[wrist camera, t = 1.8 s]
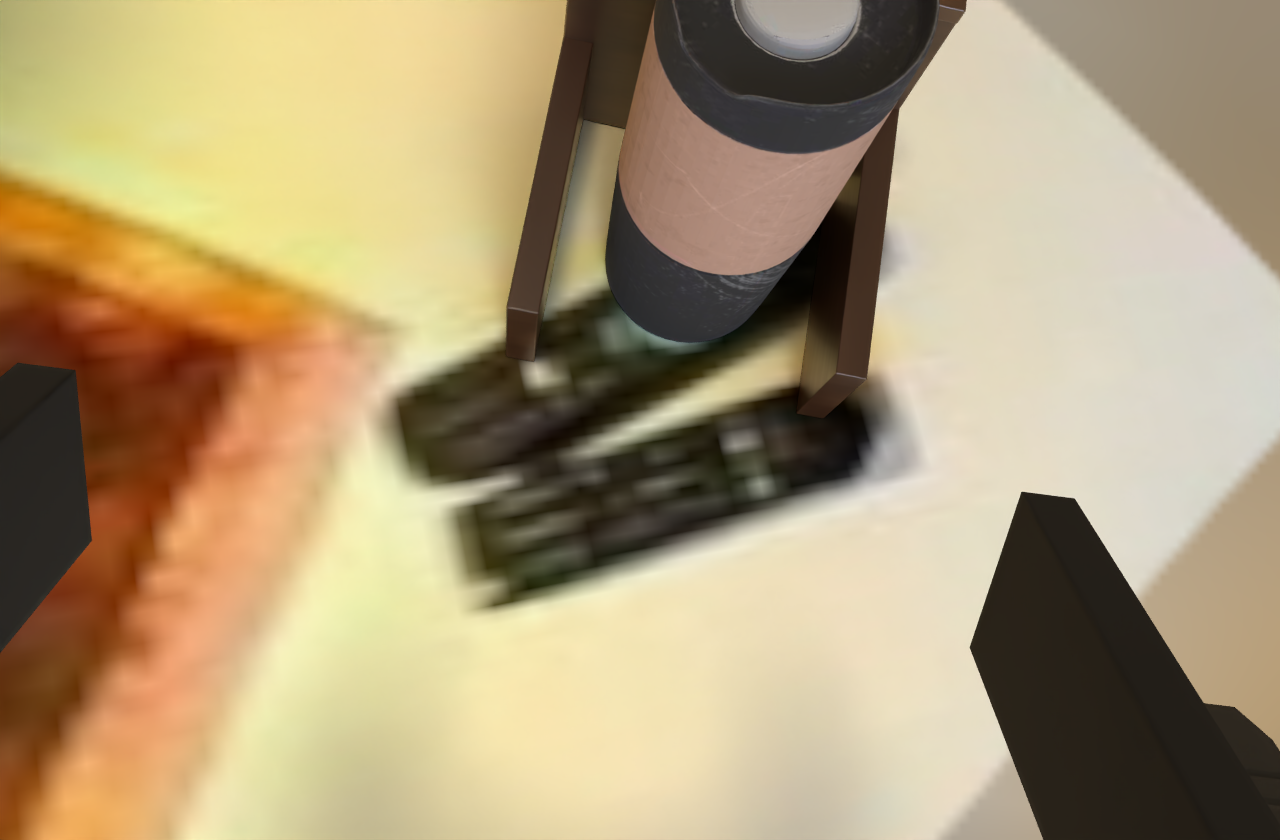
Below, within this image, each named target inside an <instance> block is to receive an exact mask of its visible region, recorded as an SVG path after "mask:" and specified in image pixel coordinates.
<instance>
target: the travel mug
mask: <svg viewBox="0 0 1280 840" xmlns="http://www.w3.org/2000/svg"><path fill="white" fill-rule="evenodd" d="M939 10H940V0H656V3H655V7H654V11H653V15H652V19H651V24H650V28H649V32H648V36H647V41H646V45H645V49H644V53H643V58H642V62H641V66H640V70H639V74H638V79H637V83H636V87H635V91H634V96H633V100H632V104H631V108H630V113H629V117H628V121H627V125H626V129H625V134H624V138H623V142H622V147H621V151H620V156H619V162H618V168H617V175H616V182H615V189H614V195H613V202H612V209H611V216H610V222H609V229H608V236H607V245H606V258H605V261H606V273H607V277H608V282H609V285H610V287H611V290H612V292H613V294H614V296H615V298H616V300H617V302H618V303H619V305H620V306H621V307H622V309H623V310H624V311H625V312H626V314H627V315H628V316H629V317H630V318H631V319H632V320H633V321H635V322H636V323H637V324H638V325H640V326H641V327H642V328H644V329H645V330H647V331H649V332H651V333H653V334H655V335H657V336H660V337H663V338H665V339H669V340H673V341H679V342H702V341H708V340H712V339H716V338H719V337H722V336H724V335H726V334H728V333H730V332H732V331H733V330H735V329H737V328H738V327H739V326H741V325H742V324H743V323H744V322H745V321H746V320H747V319H748V318H749V317H750V316H751V315H752V314H753V313H754V312H755V311H756V309H757V308H758V307H759V306H760V305H761V303H762V302H763V301H764V299H765V298H766V297H767V295H768V294H769V293H770V292H771V290H772V289H773V288H774V286H775V285H776V284H777V282H778V281H779V280H780V278H781V277H782V276H783V274H784V273H785V272H786V270H787V269H788V268H789V266H790V265H791V264H792V262H793V261H794V260H795V259H796V257H797V256H798V255H799V253H800V252H801V251H802V249H803V248H804V247H805V245H806V244H807V243H808V241H809V240H810V238H811V237H812V236H813V234H814V233H815V231H816V230H817V228H818V227H819V225H820V223H821V222H822V220H823V219H824V217H825V216H826V214H827V212H828V211H829V209H830V208H831V206H832V204H833V203H834V201H835V200H836V198H837V197H838V195H839V193H840V192H841V190H842V189H843V187H844V185H845V184H846V182H847V181H848V179H849V178H850V176H851V174H852V173H853V171H854V170H855V168H856V166H857V165H858V163H859V162H860V160H861V159H862V157H863V155H864V154H865V152H866V151H867V149H868V147H869V146H870V144H871V143H872V141H873V140H874V138H875V136H876V135H877V133H878V132H879V130H880V128H881V127H882V125H883V124H884V122H885V121H886V119H887V117H888V116H889V114H890V113H891V111H892V109H893V108H894V106H895V105H896V103H897V102H898V100H899V98H900V97H901V95H902V94H903V92H904V91H905V89H906V87H907V86H908V84H909V83H910V81H911V79H912V78H913V76H914V75H915V73H916V72H917V70H918V68H919V67H920V65H921V64H922V62H923V60H924V58H925V56H926V54H927V52H928V50H929V48H930V46H931V44H932V41H933V38H934V34H935V31H936V28H937V24H938V17H939Z"/></svg>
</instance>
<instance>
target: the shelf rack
mask: <svg viewBox="0 0 1280 840" xmlns="http://www.w3.org/2000/svg"><path fill="white" fill-rule="evenodd" d="M966 2H967V0H940V10H939V17H938V24H937V28H936V31H935V34H934V38H933V41H932V44H931V46H930V48H929V50H928V52H927V54H926V56H925V58H924V60H923V62H922V64H921V65H920V67H919V68H918V70H917V72H916V73H915V75H914V76H913V78H912V79H911V81H910V83H909V84H908V86H907V87H906V89H905V91H904V92H903V94H902V95H901V97H900V98H899V100H898V102H897V103H896V105H895V106H894V108H893V109H892V111H891V113H890V114H889V116H888V117H887V119H886V121H885V122H884V124H883V125H882V127H881V128H880V130H879V132H878V133H877V135H876V136H875V138H874V140H873V141H872V143H871V144H870V146H869V147H868V149H867V151H866V152H865V154H864V155H863V157H862V159H861V160H860V162H859V163H858V165H857V166H856V168H855V170H854V171H853V173H852V174H851V176H850V178H849V179H848V181H847V182H846V184H845V185H844V187H843V189H842V190H841V192H840V193H839V195H838V197H837V198H836V200H835V201H834V203H833V204H832V206H831V208H830V209H829V211H828V212H827V214H826V216H825V217H824V219H823V220H822V226H821V233H820V241H819V248H818V255H817V263H816V270H815V278H814V285H813V292H812V300H811V307H810V314H809V322H808V329H807V336H806V344H805V351H804V358H803V366H802V373H801V381H800V388H799V395H798V403H797V410H796V413H797V414H802V415H808V416H813V417H818V418H824V417H825V416H826V415H827V414H829V413H830V412H831V411H832V410H833V409H834V408H835V407H836V406H837V405H839V404H840V403H841V402H842V401H843V400H844V399H845V398H846V397H847V396H849V395H850V394H851V393H852V392H853V391H854V390H855V389H856V388H857V387H858V386H860V385H861V384H862V383H863V382H864V381H865V380H866V379H867V373H868V365H869V357H870V348H871V340H872V332H873V323H874V315H875V307H876V298H877V290H878V282H879V273H880V265H881V257H882V248H883V240H884V232H885V223H886V215H887V207H888V198H889V190H890V182H891V173H892V165H893V156H894V148H895V140H896V131H897V123H898V115H899V109H900V107H901V106H902V104H903V103H904V101H905V100H906V98H907V97H908V95H909V94H910V92H911V91H912V89H913V88H914V86H915V84H916V83H917V81H918V80H919V78H920V77H921V75H922V74H923V72H924V71H925V69H926V68H927V66H928V65H929V63H930V62H931V60H932V59H933V57H934V56H935V54H936V53H937V51H938V50H939V48H940V47H941V45H942V44H943V42H944V41H945V39H946V38H947V36H948V35H949V33H950V32H951V30H952V29H953V27H954V26H955V24H956V23H958V21H959V20H960V18H961V17H962V15H963V14H964V12H965V11H966ZM655 3H656V0H567V5H566V16H565V26H564V37H563V41H562V46H561V51H560V56H559V60H558V65H557V70H556V75H555V79H554V84H553V89H552V94H551V98H550V103H549V108H548V113H547V117H546V122H545V127H544V131H543V136H542V141H541V146H540V150H539V155H538V160H537V165H536V169H535V174H534V179H533V184H532V188H531V193H530V198H529V203H528V207H527V212H526V217H525V221H524V226H523V231H522V236H521V240H520V245H519V250H518V255H517V259H516V264H515V269H514V274H513V278H512V283H511V288H510V293H509V297H508V302H507V309H506V356H507V357H512V358H517V359H522V360H527V361H532V362H533V361H534V360H535V355H536V350H537V345H538V340H539V335H540V330H541V325H542V320H543V315H544V310H545V305H546V300H547V295H548V290H549V285H550V280H551V276H552V271H553V266H554V261H555V256H556V251H557V246H558V241H559V236H560V231H561V226H562V221H563V216H564V211H565V206H566V201H567V196H568V191H569V186H570V181H571V176H572V171H573V166H574V161H575V156H576V151H577V146H578V142H579V137H580V132H581V127H582V122H583V119H584V120H589V121H593V122H598V123H603V124H608V125H612V126H617V127H622V128H626V125H627V121H628V117H629V113H630V108H631V104H632V100H633V96H634V91H635V87H636V83H637V79H638V74H639V70H640V66H641V62H642V58H643V53H644V49H645V45H646V41H647V36H648V32H649V28H650V24H651V19H652V15H653V11H654V7H655Z"/></svg>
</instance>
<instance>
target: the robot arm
mask: <svg viewBox="0 0 1280 840" xmlns="http://www.w3.org/2000/svg"><path fill="white" fill-rule="evenodd" d="M91 541H92V538H91V527H90V517H89V506H88V496H87V486H86V475H85V465H84V454H83V444H82V434H81V423H80V413H79V402H78V392H77V382H76V371H75V370H69V369H62V368H54V367H46V366H38V365H30V364H23V363H17V364H16V365H15V366H13V367H12V368H11V369H10V370H8V371H7V372H6V373H5V374H4V375H2V376H1V377H0V652H1V651H2V650H3V649H4V648H5V646H6V645H7V644H8V643H9V641H10V640H11V639H12V638H13V637H14V635H15V634H16V633H17V632H18V630H19V629H20V628H21V627H22V625H23V624H24V623H25V622H26V621H27V619H28V618H29V617H30V616H31V614H32V613H33V612H34V611H35V610H36V608H37V607H38V606H39V605H40V603H41V602H42V601H43V600H44V599H45V597H46V596H47V595H48V594H49V592H50V591H51V590H52V589H53V588H54V586H55V585H56V584H57V583H58V581H59V580H60V579H61V578H62V576H63V575H64V574H65V573H66V572H67V570H68V569H69V568H70V567H71V565H72V564H73V563H74V562H75V561H76V559H77V558H78V557H79V556H80V554H81V553H82V552H83V551H84V550H85V548H86V547H87V546H88V545H89V543H90V542H91ZM970 649H971V652H972V655H973V657H974V660H975V663H976V665H977V668H978V670H979V673H980V676H981V678H982V681H983V683H984V686H985V689H986V691H987V694H988V696H989V699H990V702H991V704H992V707H993V710H994V712H995V715H996V717H997V720H998V723H999V725H1000V728H1001V730H1002V733H1003V736H1004V738H1005V741H1006V743H1007V746H1008V749H1009V751H1010V754H1011V756H1012V759H1013V762H1014V764H1015V767H1016V770H1017V772H1018V775H1019V777H1020V780H1021V783H1022V785H1023V788H1024V790H1025V793H1026V796H1027V798H1028V801H1029V803H1030V806H1031V809H1032V811H1033V814H1034V817H1035V819H1036V821H1037V824H1038V827H1039V829H1040V832H1041V835H1042V837H1043V840H1280V751H1279V749H1278V748H1277V746H1276V745H1275V743H1274V742H1273V740H1272V739H1271V738H1270V737H1268V736H1267V735H1266V734H1265V733H1264V732H1263V731H1262V730H1260V729H1259V728H1258V727H1257V726H1256V725H1255V724H1253V723H1252V722H1251V721H1250V720H1249V719H1248V718H1246V717H1245V716H1244V715H1243V714H1242V713H1241V712H1240V711H1238V710H1237V709H1236V708H1235V707H1230V706H1222V705H1213V704H1205V703H1203V702H1202V700H1201V698H1200V697H1199V695H1198V694H1197V692H1196V691H1195V689H1194V687H1193V686H1192V684H1191V682H1190V681H1189V679H1188V678H1187V676H1186V674H1185V673H1184V671H1183V670H1182V668H1181V667H1180V665H1179V663H1178V662H1177V661H1176V659H1175V657H1174V655H1173V654H1172V652H1171V651H1170V649H1169V647H1168V646H1167V644H1166V643H1165V641H1164V640H1163V638H1162V636H1161V635H1160V633H1159V632H1158V630H1157V629H1156V627H1155V625H1154V624H1153V622H1152V621H1151V619H1150V617H1149V616H1148V614H1147V613H1146V611H1145V609H1144V608H1143V606H1142V605H1141V603H1140V601H1139V600H1138V598H1137V597H1136V595H1135V594H1134V592H1133V590H1132V589H1131V587H1130V586H1129V584H1128V582H1127V581H1126V579H1125V578H1124V576H1123V574H1122V573H1121V571H1120V570H1119V568H1118V567H1117V565H1116V563H1115V562H1114V560H1113V559H1112V557H1111V555H1110V554H1109V552H1108V551H1107V549H1106V547H1105V546H1104V544H1103V543H1102V541H1101V540H1100V538H1099V536H1098V535H1097V533H1096V532H1095V530H1094V528H1093V527H1092V525H1091V524H1090V522H1089V521H1088V519H1087V517H1086V516H1085V514H1084V513H1083V511H1082V509H1081V508H1080V506H1079V505H1078V503H1077V501H1076V500H1075V499H1074V498H1066V497H1058V496H1051V495H1043V494H1035V493H1027V492H1021V495H1020V498H1019V501H1018V504H1017V507H1016V510H1015V513H1014V516H1013V519H1012V522H1011V525H1010V528H1009V531H1008V534H1007V537H1006V540H1005V543H1004V546H1003V549H1002V552H1001V555H1000V558H999V561H998V564H997V567H996V570H995V573H994V576H993V579H992V582H991V585H990V588H989V591H988V594H987V597H986V600H985V603H984V606H983V609H982V612H981V615H980V618H979V621H978V624H977V627H976V630H975V633H974V636H973V639H972V642H971V645H970Z"/></svg>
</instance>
